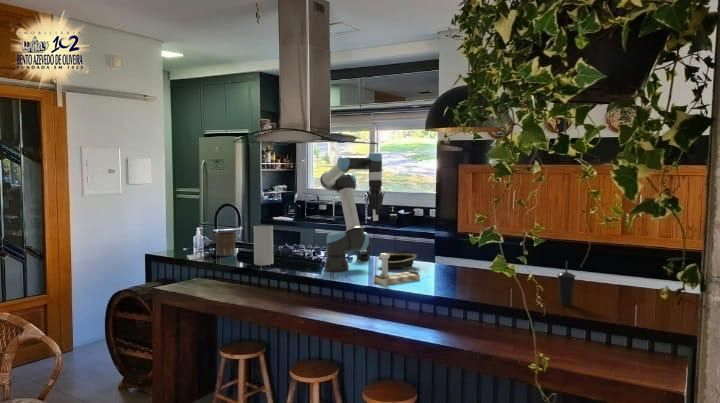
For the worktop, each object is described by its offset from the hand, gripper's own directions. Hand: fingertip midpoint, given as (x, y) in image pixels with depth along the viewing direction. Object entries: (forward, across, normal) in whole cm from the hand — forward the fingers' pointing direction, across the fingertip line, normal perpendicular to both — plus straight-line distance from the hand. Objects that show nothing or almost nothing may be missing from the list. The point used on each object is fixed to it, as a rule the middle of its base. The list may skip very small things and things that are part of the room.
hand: (375, 220), depth 294 cm
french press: (+33, +45, -30) cm, 63 cm away
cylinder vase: (+33, +78, +28) cm, 89 cm away
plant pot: (+33, +129, +30) cm, 136 cm away
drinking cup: (+33, -105, -20) cm, 111 cm away
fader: (+29, -16, +9) cm, 34 cm away
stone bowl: (+33, +10, -28) cm, 44 cm away
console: (+32, -18, +1) cm, 37 cm away
